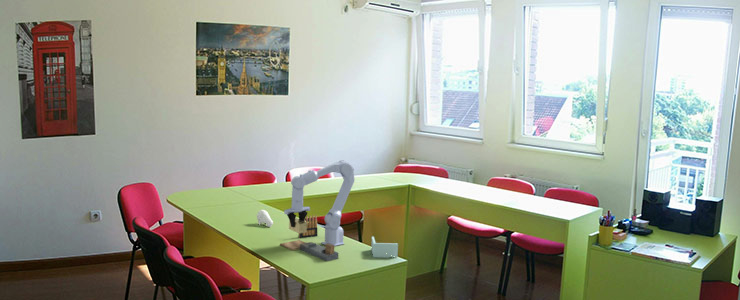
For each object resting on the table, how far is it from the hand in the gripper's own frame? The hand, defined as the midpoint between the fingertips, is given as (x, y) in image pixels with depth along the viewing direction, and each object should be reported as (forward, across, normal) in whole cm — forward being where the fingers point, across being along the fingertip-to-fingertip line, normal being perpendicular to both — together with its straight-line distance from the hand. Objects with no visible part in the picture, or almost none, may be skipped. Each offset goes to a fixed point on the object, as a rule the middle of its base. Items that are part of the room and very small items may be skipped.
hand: (296, 226), depth 288 cm
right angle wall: (+11, -28, +35) cm, 47 cm away
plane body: (+10, -1, +18) cm, 20 cm away
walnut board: (+10, 0, 0) cm, 10 cm away
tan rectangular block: (+2, 0, +1) cm, 2 cm away
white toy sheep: (+11, -9, -44) cm, 46 cm away
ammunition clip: (+11, -15, -10) cm, 21 cm away
